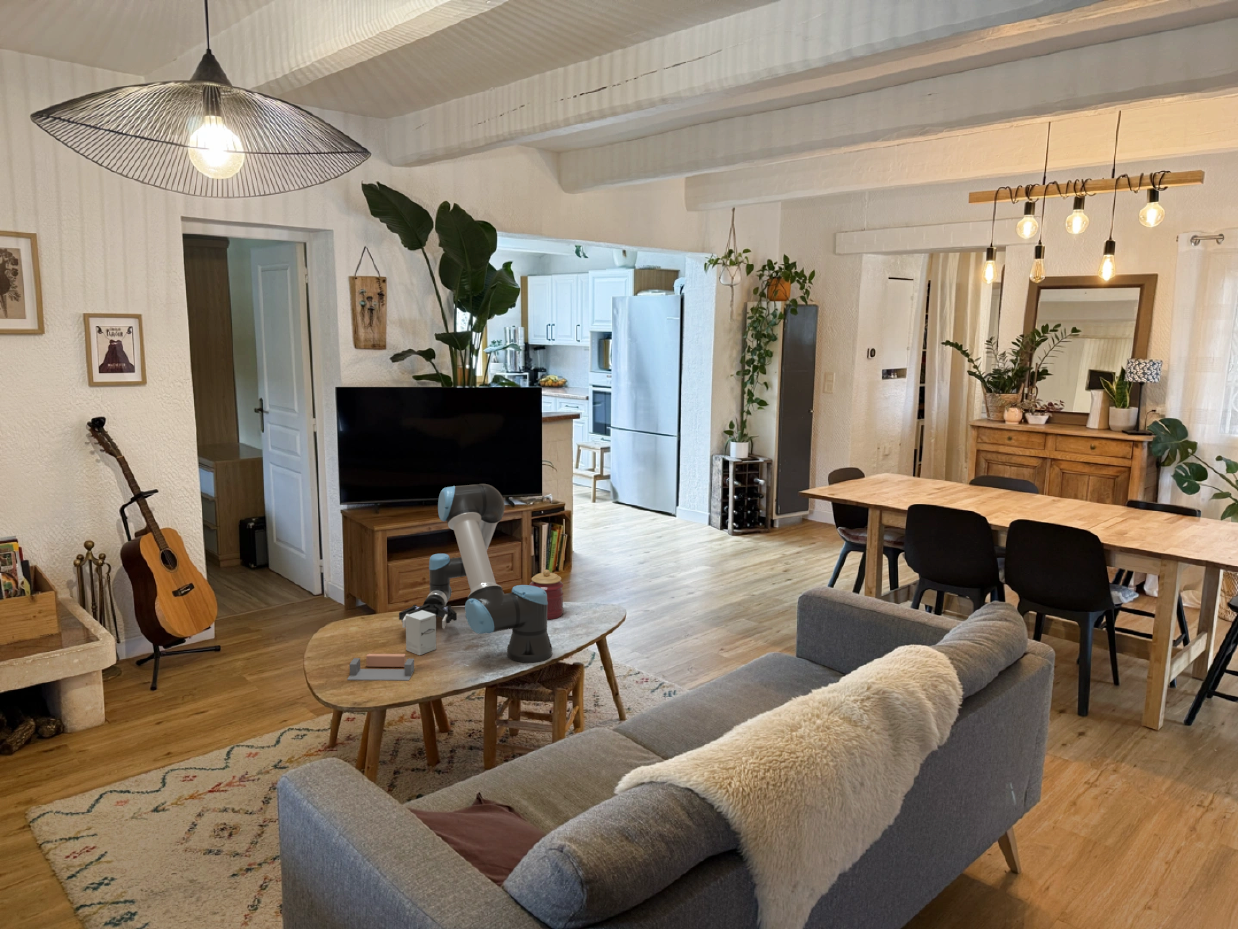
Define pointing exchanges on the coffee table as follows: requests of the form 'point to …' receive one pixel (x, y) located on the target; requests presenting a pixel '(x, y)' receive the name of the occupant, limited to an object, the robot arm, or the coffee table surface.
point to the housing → (381, 672)
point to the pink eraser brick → (385, 660)
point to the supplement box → (420, 632)
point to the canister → (550, 592)
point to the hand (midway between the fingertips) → (423, 624)
